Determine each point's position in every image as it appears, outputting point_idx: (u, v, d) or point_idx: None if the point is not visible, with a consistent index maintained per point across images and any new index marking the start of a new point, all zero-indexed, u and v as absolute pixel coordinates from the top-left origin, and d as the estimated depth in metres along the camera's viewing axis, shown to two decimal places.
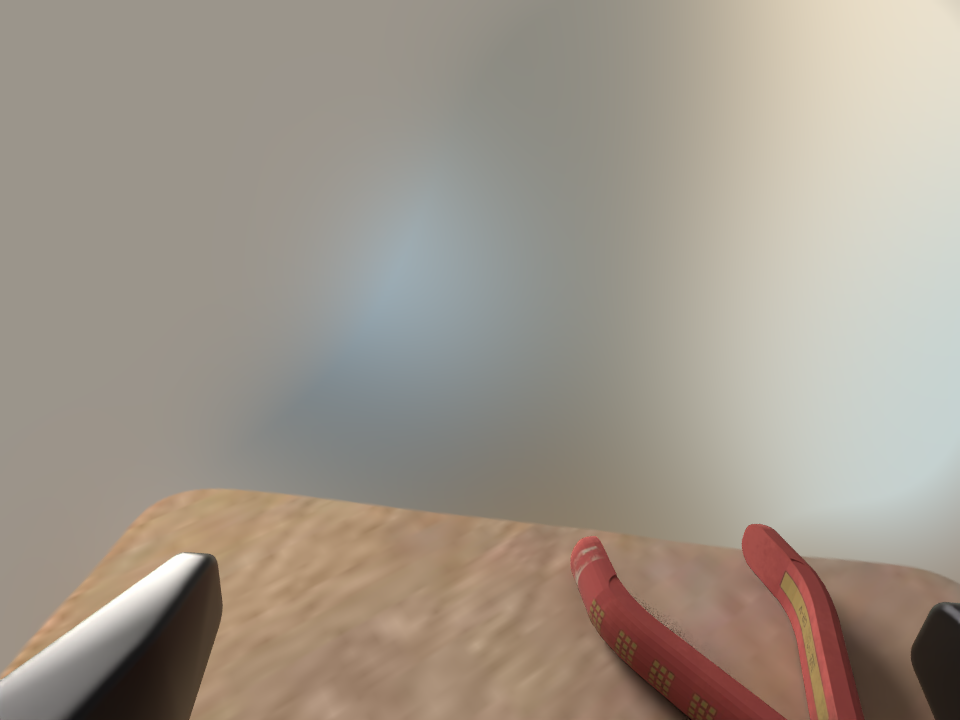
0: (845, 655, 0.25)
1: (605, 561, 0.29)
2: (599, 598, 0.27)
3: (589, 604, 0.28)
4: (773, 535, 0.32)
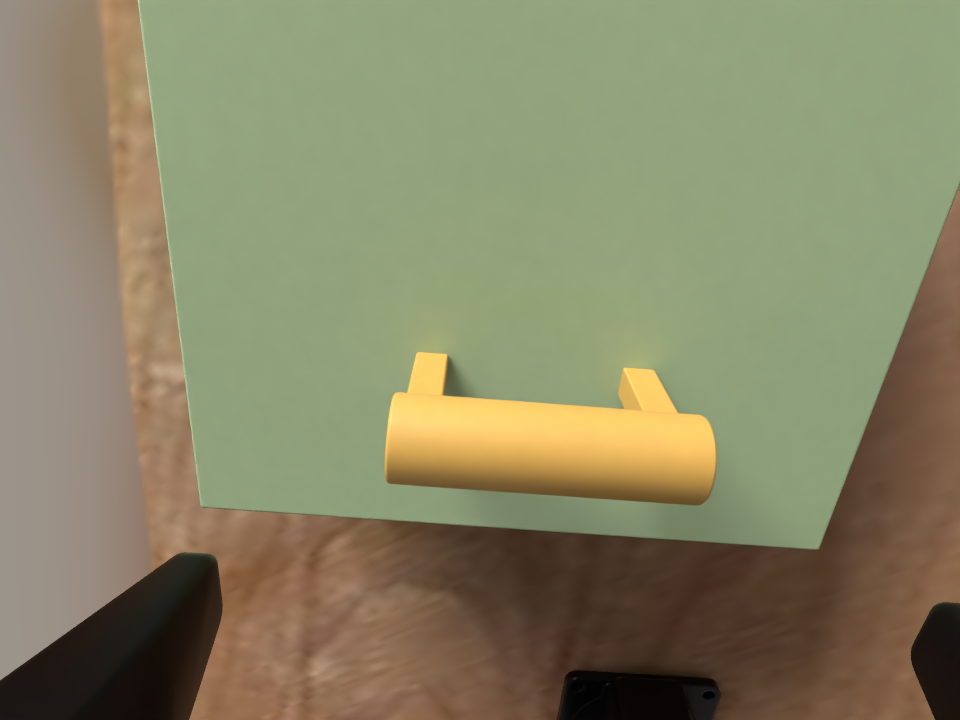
0: None
1: None
2: None
3: None
4: None
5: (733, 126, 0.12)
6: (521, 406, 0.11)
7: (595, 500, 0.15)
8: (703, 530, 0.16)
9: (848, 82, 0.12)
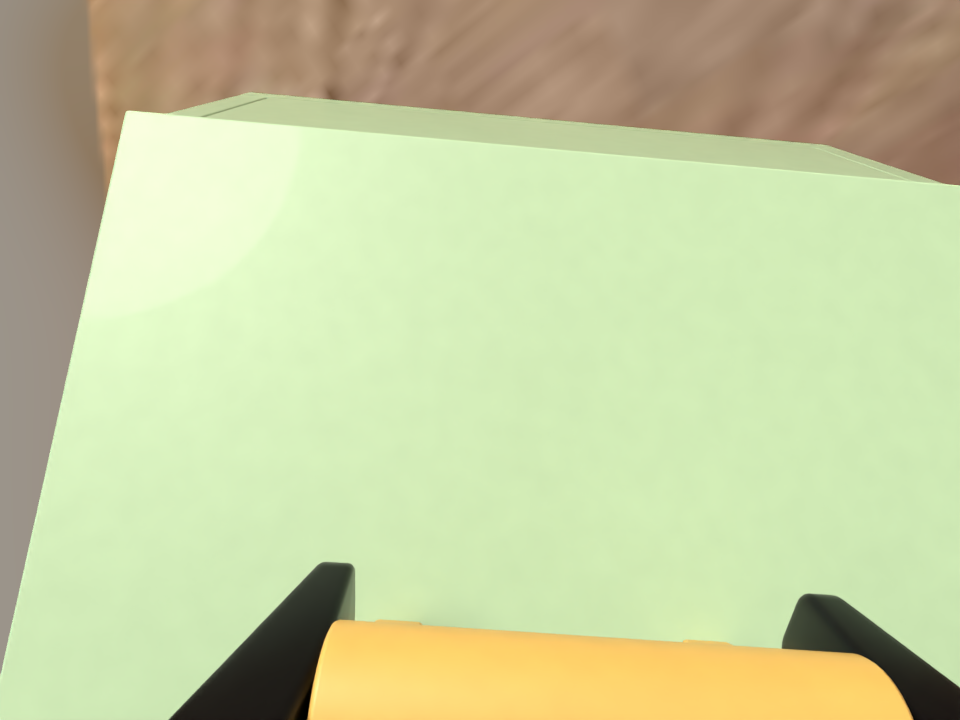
0: None
1: None
2: None
3: None
4: None
5: (750, 317, 0.11)
6: (551, 634, 0.07)
7: None
8: None
9: (858, 275, 0.11)
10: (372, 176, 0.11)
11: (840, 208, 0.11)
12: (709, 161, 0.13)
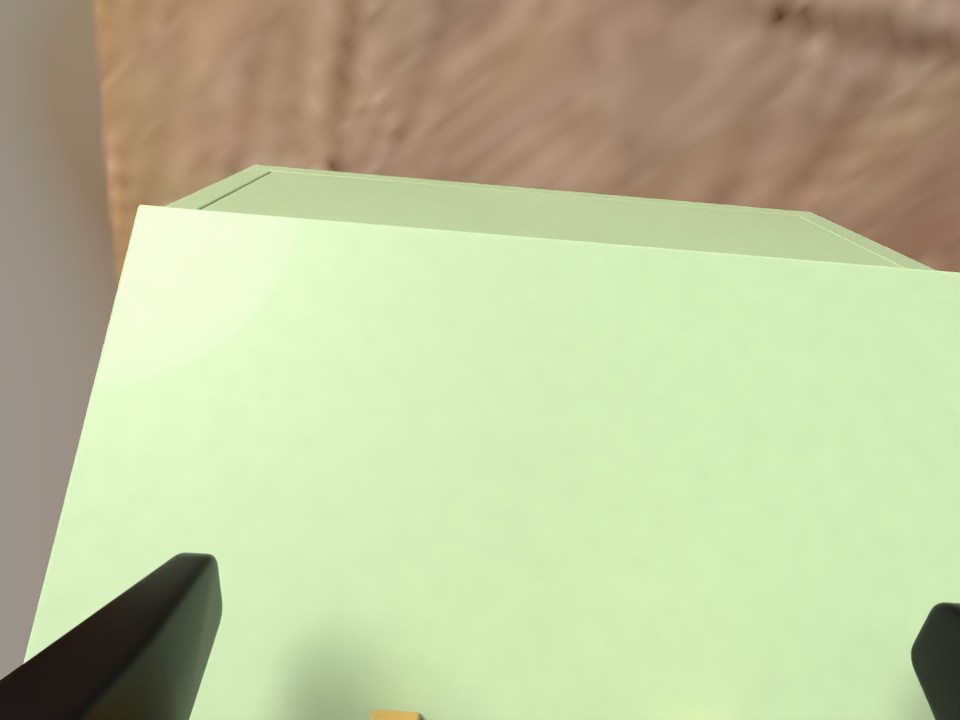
0: None
1: None
2: None
3: None
4: None
5: (738, 399, 0.11)
6: None
7: None
8: None
9: (840, 358, 0.11)
10: (372, 265, 0.11)
11: (821, 293, 0.12)
12: (695, 242, 0.13)
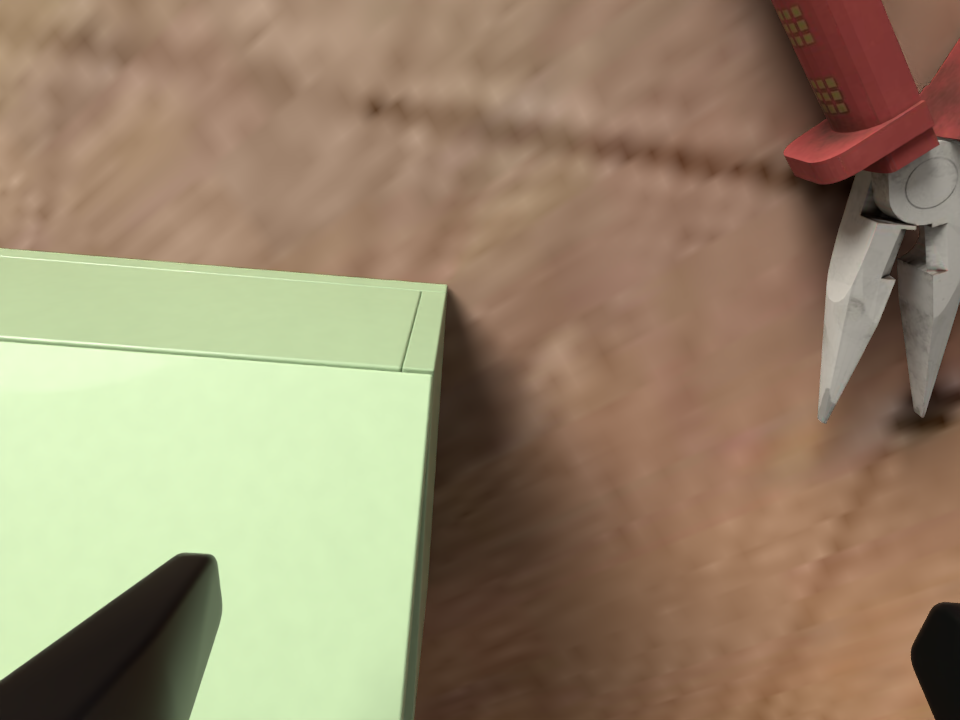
0: None
1: None
2: None
3: None
4: None
5: (174, 498, 0.12)
6: None
7: None
8: None
9: (282, 457, 0.12)
10: None
11: (280, 395, 0.13)
12: (226, 335, 0.14)
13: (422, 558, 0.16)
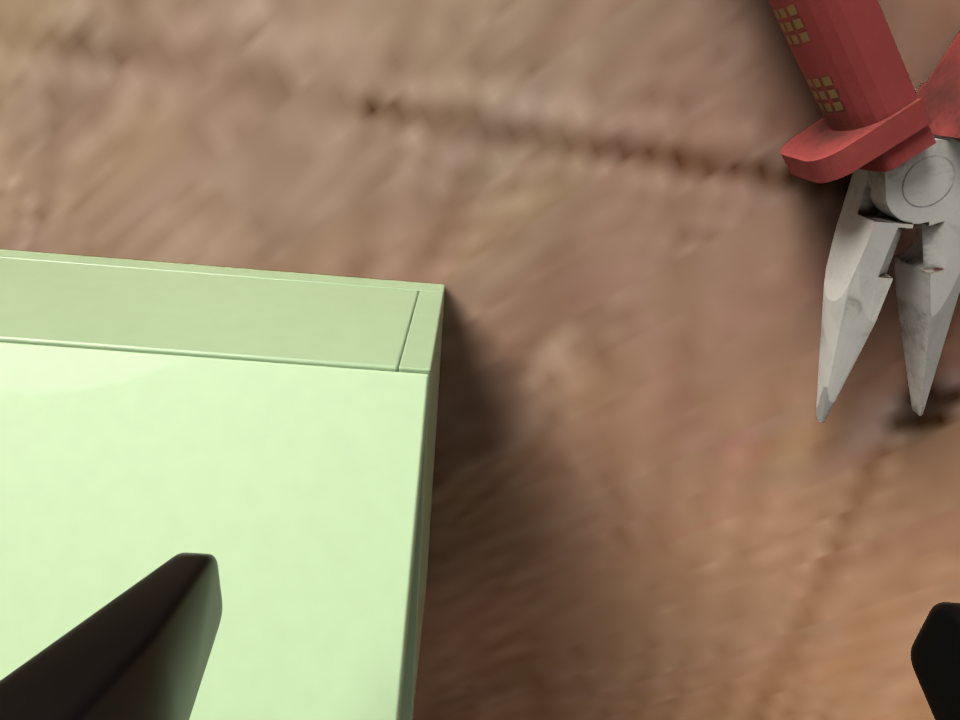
0: None
1: None
2: None
3: None
4: None
5: (170, 498, 0.12)
6: None
7: None
8: None
9: (278, 457, 0.12)
10: None
11: (276, 395, 0.13)
12: (223, 336, 0.14)
13: (419, 558, 0.16)
